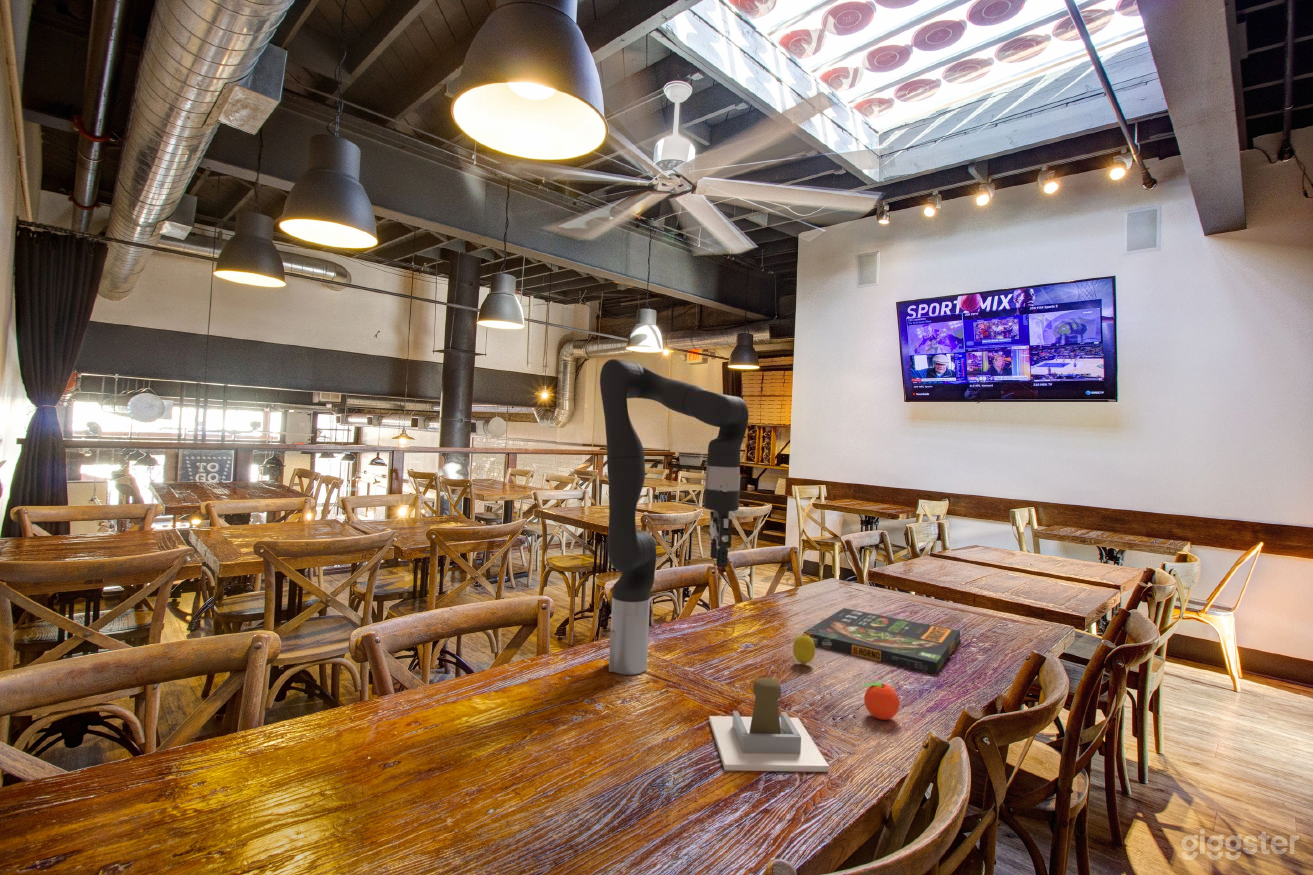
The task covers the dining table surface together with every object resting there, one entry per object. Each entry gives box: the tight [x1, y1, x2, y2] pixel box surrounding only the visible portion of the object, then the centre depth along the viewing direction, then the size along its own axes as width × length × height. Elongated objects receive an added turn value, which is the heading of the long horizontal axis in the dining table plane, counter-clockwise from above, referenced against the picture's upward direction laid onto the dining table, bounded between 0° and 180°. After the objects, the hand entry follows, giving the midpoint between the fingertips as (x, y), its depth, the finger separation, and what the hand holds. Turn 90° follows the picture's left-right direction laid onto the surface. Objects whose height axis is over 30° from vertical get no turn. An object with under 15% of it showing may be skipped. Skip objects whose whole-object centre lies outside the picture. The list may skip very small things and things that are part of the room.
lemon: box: [792, 633, 816, 666], centre depth 153 cm, size 6×6×8 cm
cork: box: [749, 677, 782, 734], centre depth 111 cm, size 6×6×11 cm
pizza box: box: [803, 607, 961, 675], centre depth 175 cm, size 35×35×4 cm
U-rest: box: [708, 710, 830, 773], centre depth 111 cm, size 18×18×4 cm
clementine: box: [860, 682, 901, 721], centre depth 125 cm, size 8×7×7 cm
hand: (718, 562), depth 129 cm, fingers open, 8 cm apart
